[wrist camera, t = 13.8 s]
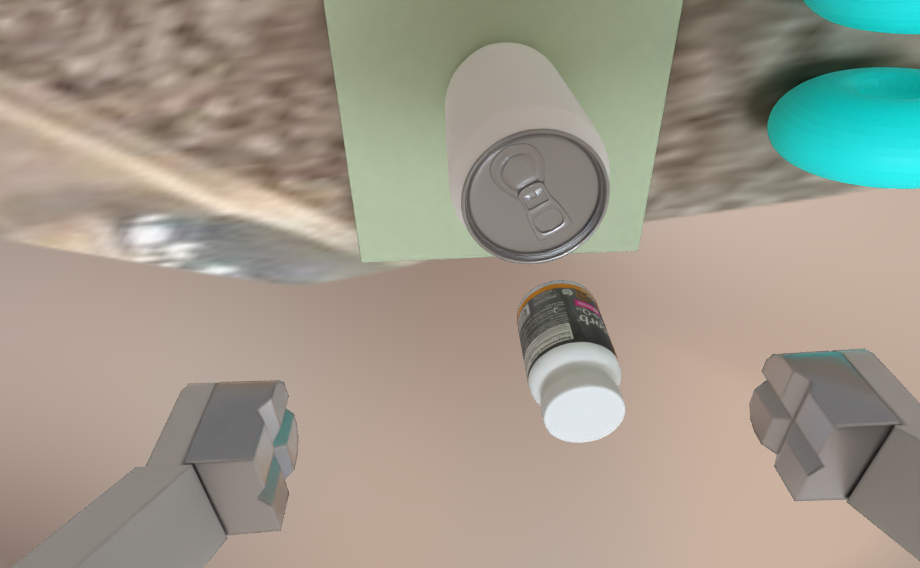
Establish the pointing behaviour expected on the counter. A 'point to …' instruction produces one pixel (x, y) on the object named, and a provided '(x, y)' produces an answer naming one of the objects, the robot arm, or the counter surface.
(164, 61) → the counter surface
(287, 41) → the counter surface
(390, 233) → the mat
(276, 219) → the counter surface
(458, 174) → the can
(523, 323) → the pill bottle
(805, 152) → the donuts
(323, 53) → the counter surface
